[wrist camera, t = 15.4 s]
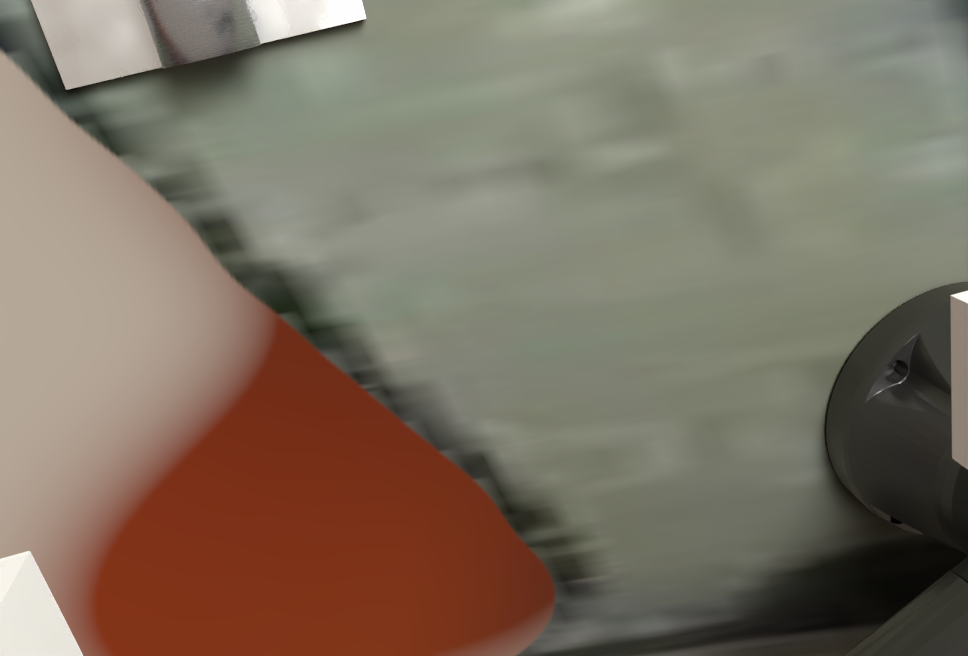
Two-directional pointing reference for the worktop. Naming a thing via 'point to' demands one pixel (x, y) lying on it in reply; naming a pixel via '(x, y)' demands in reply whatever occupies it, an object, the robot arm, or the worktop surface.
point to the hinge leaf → (172, 31)
